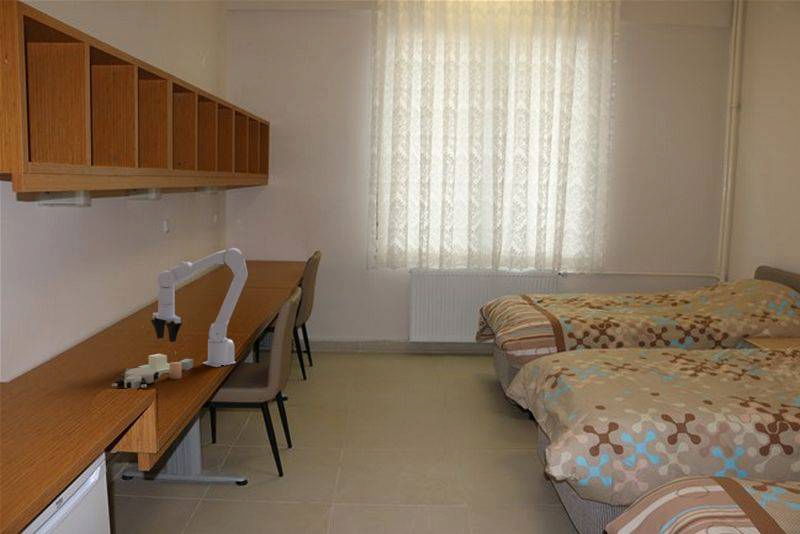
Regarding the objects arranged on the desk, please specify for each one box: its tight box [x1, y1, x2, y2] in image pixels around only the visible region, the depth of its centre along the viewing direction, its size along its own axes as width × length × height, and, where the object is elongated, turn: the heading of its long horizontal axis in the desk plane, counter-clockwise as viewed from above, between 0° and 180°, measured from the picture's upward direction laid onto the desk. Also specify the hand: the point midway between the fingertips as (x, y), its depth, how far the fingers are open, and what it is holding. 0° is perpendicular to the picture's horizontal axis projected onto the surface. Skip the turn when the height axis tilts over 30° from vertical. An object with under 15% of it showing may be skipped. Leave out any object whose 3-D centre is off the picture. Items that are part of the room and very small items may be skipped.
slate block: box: [179, 358, 194, 371], centre depth 259 cm, size 5×3×3 cm, turn 170°
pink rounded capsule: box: [168, 361, 183, 380], centre depth 246 cm, size 4×4×5 cm
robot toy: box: [111, 367, 163, 390], centre depth 234 cm, size 12×4×15 cm
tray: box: [137, 362, 170, 375], centre depth 254 cm, size 10×10×1 cm
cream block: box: [148, 353, 168, 370], centre depth 254 cm, size 4×4×5 cm
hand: (166, 339), depth 262 cm, fingers open, 7 cm apart
